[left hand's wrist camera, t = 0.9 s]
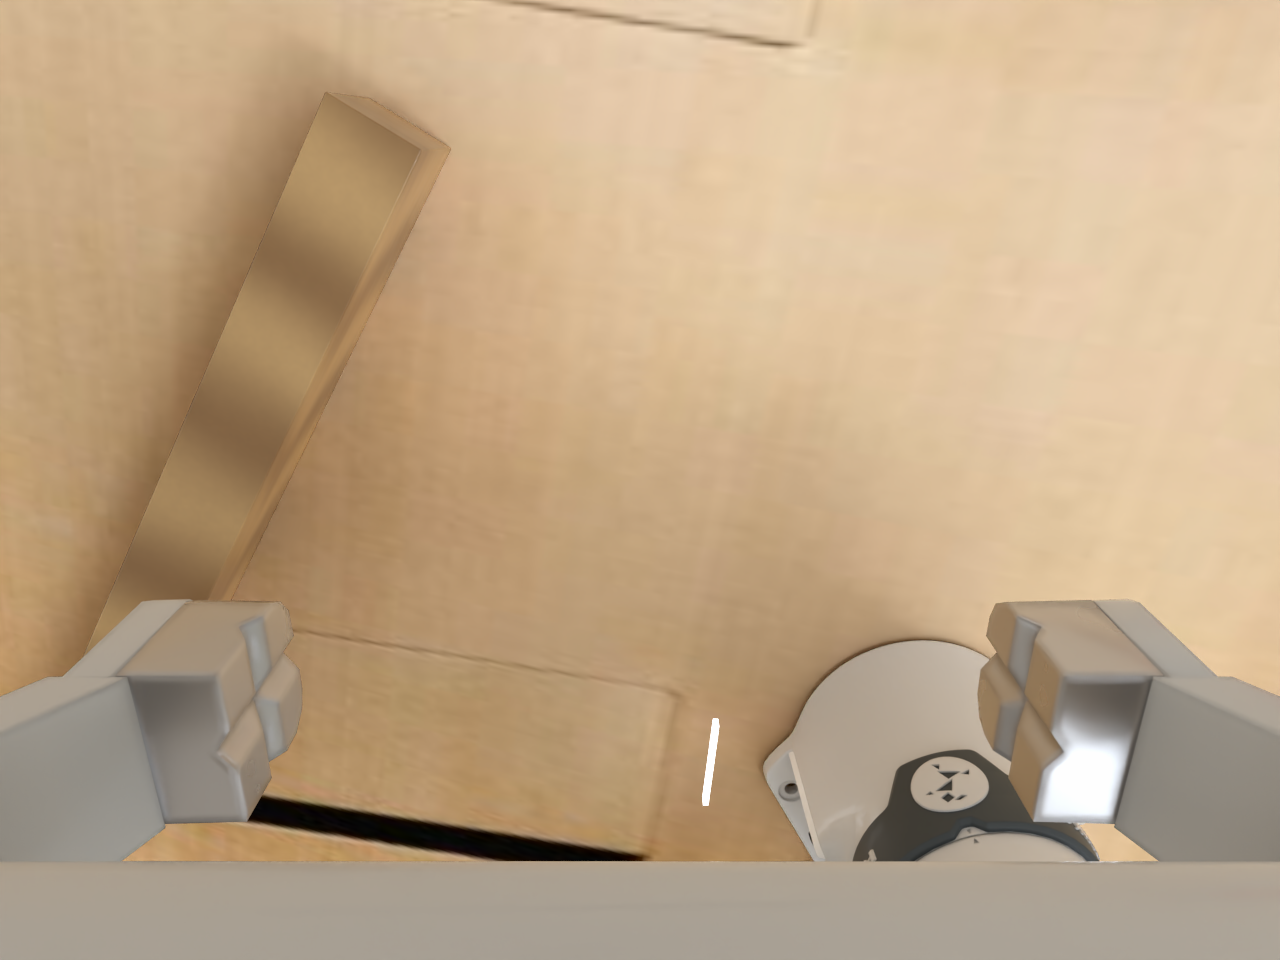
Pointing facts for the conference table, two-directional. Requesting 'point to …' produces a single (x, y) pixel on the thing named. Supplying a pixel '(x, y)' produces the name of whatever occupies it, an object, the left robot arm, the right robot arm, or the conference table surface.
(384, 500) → the conference table surface
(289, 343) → the beam
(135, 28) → the conference table surface
